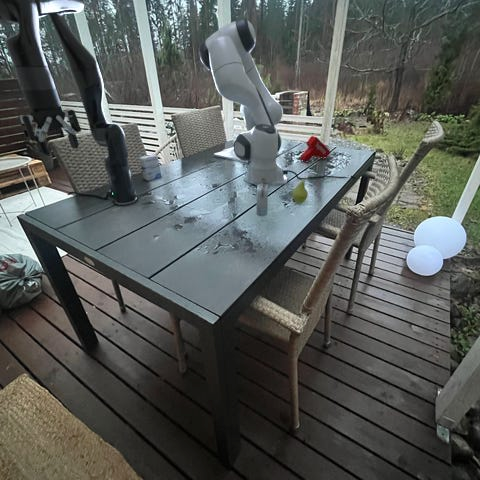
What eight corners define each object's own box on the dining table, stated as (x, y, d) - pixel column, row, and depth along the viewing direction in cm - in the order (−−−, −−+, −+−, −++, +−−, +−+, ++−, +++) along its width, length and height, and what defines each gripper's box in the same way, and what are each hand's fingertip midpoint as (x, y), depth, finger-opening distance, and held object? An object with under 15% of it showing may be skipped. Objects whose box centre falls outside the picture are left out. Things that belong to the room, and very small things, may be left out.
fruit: (288, 200, 123) (290, 174, 116) (302, 197, 125) (305, 172, 119) (296, 206, 118) (299, 179, 111) (310, 203, 120) (314, 177, 114)
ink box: (157, 175, 153) (153, 153, 146) (161, 177, 150) (158, 155, 143) (143, 178, 148) (138, 157, 141) (147, 181, 145) (143, 158, 138)
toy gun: (301, 158, 166) (316, 136, 163) (297, 156, 169) (311, 135, 166) (317, 172, 178) (330, 152, 175) (312, 170, 181) (326, 150, 178)
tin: (260, 217, 102) (260, 207, 100) (254, 213, 105) (254, 203, 103) (269, 214, 103) (269, 204, 101) (263, 210, 107) (263, 200, 104)
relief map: (256, 164, 167) (256, 156, 164) (213, 155, 185) (213, 147, 182) (278, 154, 185) (279, 147, 183) (238, 147, 203) (237, 140, 200)
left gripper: (16, 89, 63) (44, 159, 72) (73, 86, 73) (91, 147, 82) (-1, 89, 66) (28, 156, 75) (57, 85, 76) (76, 144, 85)
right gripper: (272, 185, 87) (270, 223, 94) (272, 166, 104) (270, 199, 111) (252, 185, 87) (252, 222, 95) (256, 165, 104) (255, 198, 112)
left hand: (61, 151), depth 78 cm, fingers open, 8 cm apart
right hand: (262, 209), depth 103 cm, fingers closed on tin, 4 cm apart
